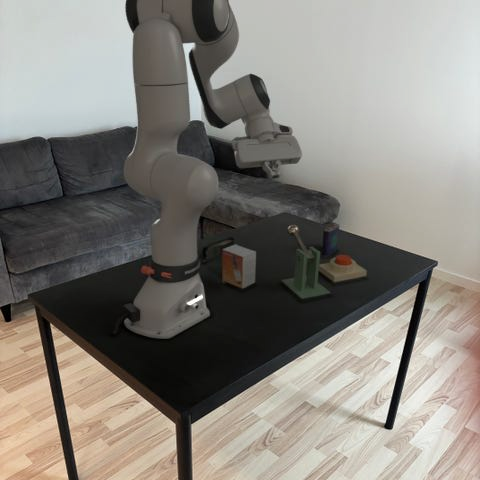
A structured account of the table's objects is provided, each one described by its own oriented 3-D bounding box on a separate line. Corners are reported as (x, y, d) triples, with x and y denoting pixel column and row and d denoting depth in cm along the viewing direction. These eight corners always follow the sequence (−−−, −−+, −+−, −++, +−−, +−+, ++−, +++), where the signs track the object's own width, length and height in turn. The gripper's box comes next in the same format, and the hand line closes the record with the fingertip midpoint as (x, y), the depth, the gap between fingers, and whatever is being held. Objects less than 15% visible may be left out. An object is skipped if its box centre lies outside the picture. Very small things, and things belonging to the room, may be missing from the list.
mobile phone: (229, 234, 159) (197, 246, 148) (236, 236, 157) (205, 248, 147) (228, 248, 161) (198, 261, 151) (235, 250, 159) (205, 263, 149)
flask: (331, 247, 162) (334, 217, 156) (339, 249, 160) (342, 218, 155) (319, 256, 155) (322, 225, 149) (328, 258, 154) (331, 227, 148)
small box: (221, 283, 138) (221, 248, 132) (235, 277, 141) (235, 243, 136) (242, 291, 133) (242, 256, 128) (255, 285, 137) (256, 250, 131)
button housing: (333, 285, 137) (335, 270, 135) (317, 272, 144) (318, 259, 142) (365, 278, 141) (367, 264, 138) (348, 267, 148) (350, 253, 146)
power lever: (284, 231, 136) (287, 223, 133) (294, 230, 137) (297, 221, 134) (303, 265, 129) (306, 257, 127) (313, 263, 130) (316, 255, 128)
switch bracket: (281, 283, 138) (283, 245, 132) (308, 278, 141) (311, 240, 135) (301, 302, 128) (304, 261, 122) (330, 296, 131) (334, 256, 125)
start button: (340, 267, 138) (341, 261, 137) (332, 261, 141) (333, 256, 141) (353, 264, 139) (354, 259, 139) (345, 259, 143) (345, 253, 142)
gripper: (232, 130, 134) (245, 174, 132) (296, 127, 141) (310, 168, 138) (226, 144, 140) (239, 186, 137) (288, 140, 147) (301, 180, 144)
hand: (275, 177), depth 138 cm, fingers closed
